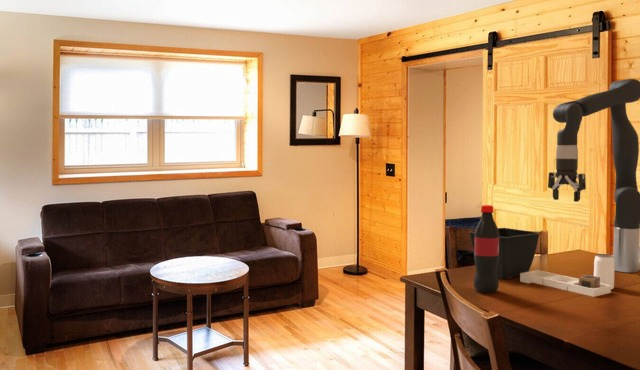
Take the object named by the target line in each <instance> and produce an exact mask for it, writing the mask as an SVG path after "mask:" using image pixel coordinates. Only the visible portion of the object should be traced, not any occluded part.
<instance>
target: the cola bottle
mask: <svg viewBox="0 0 640 370" xmlns="http://www.w3.org/2000/svg"><path fill="white" fill-rule="evenodd" d="M480 213H481V217H480V220H479V221H478V223H477V225H476V228H475V230H474V231H475V233H474V236H475V248H474V252H473V259H474V266H475V267H474V268H475V275H474V277H473V287H474V290H475V291H477V292H478V293H483V294H493V293H496V292H497V291H498V288H499V285H500V280H499V278H498V276H497V267H498V261H499V236H500V234H499V231H498V228H499V227H498V226H497V223H496V222H495V221H496V220H495V219H494V217H493V214H494V205H492V204H491V205H490V204H485V205H481V208H480Z"/></svg>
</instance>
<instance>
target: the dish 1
mask: <svg viewBox="0 0 640 370" xmlns="http://www.w3.org/2000/svg"><path fill="white" fill-rule="evenodd" d="M557 275H560V274H558V273H554V272H549V271H545V270H540V269H536V270H529V272H523V273H520V277H519V282H520V283H525V284H528V285H529V284H532V283H533V284H537V285H541V286H544V285H543V278H547V277H552V276H557Z"/></svg>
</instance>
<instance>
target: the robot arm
mask: <svg viewBox="0 0 640 370" xmlns="http://www.w3.org/2000/svg"><path fill="white" fill-rule="evenodd" d="M639 100H640V80H638V79H636V78H627V79H626V78H625V79H621V80H615V81H612V82H611V83H610V84H609V87H608V90H605V91H601V92H596V93H593V94H590V95H586V96H583V97H581V98H579V99H576V100H571V101H568V102H563V103H560V104H558V105H556V106H555V108H554V109H553V112H552V118H553V119H554V120H555V121H556V122H558V123H560V124H565V125H564V128H563V129H559V130H558V131H557V133H556V140H557V141H556V145H557V146H556V155H555V170H556V172H554V171H551V172H549V173H548V180H547V182H548V183H547V188H549V189H551V190H552V199H553V200H554V201H558V200H559V196H560V195H559V194H560V190H559V189H560V188H561V186H562V185H567V186H570V187H571V188H572V189H573V191H574V192H573V202H579V201H580V200H581V192H582V191H585V190H586V189H587V187H586V183H587V181H586V174H585V173H578V168H579V166H578V165H579V163H578V159H579V151H578V133H579V131H580V127H581V123H582V121H583V117H588V116H591V115H592V114H595V113H599V112H601V111H604V110H605V109H610V117H611V127H612V129H611V131H612V133H611V134H612V156H613V164H614V170H615V171H614V172H615V186H614V187H615V188H614V196H613V199H614V203H615V213H614V214H615V215H614V220H613V221H614V222H613V249H612V255H613V258H614V260H615V270H614V272H615V271H616V272H621V273H638V272H639V271H640V191H639V190H638V183H637V168H638V162H639V153H640V145H639V135H638V133H637V131H636V129H635V127H634V126H633V124H632V122H631V121H630V119H629V118H628V114H627V105H626V104H629V103H630V104H631V103H635V102H637V101H639Z"/></svg>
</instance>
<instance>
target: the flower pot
mask: <svg viewBox="0 0 640 370" xmlns="http://www.w3.org/2000/svg"><path fill="white" fill-rule="evenodd" d="M497 228H498V231H499V234H500V236H499V261H498V267H497V276H498V279H502V280H508V279H512V278H520V273H523V272H529V271H531V270H530V269H531V266H532V263H533V261H534V258H535V255H536V252H537V247H538V243H539V237H540V232H535V231H530V230H525V229H523V230H522V229H516V228H515V229H514V228H508V227H497ZM474 233H475V230H473V231H471V230H470V231H469V238H470V242H471V248H472V251H473V253H474V248H475V236H474Z"/></svg>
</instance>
